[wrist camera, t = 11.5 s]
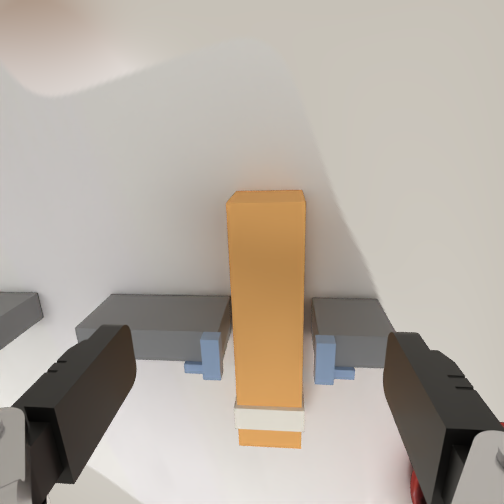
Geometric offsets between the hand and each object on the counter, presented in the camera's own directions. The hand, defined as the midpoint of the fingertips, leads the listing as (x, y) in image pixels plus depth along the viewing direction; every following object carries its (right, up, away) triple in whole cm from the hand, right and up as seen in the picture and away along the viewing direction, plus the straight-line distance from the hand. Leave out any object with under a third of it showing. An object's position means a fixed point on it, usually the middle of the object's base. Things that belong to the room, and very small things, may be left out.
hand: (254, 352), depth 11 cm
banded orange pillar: (+1, -1, +13) cm, 13 cm away
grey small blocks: (-6, -1, +14) cm, 15 cm away
